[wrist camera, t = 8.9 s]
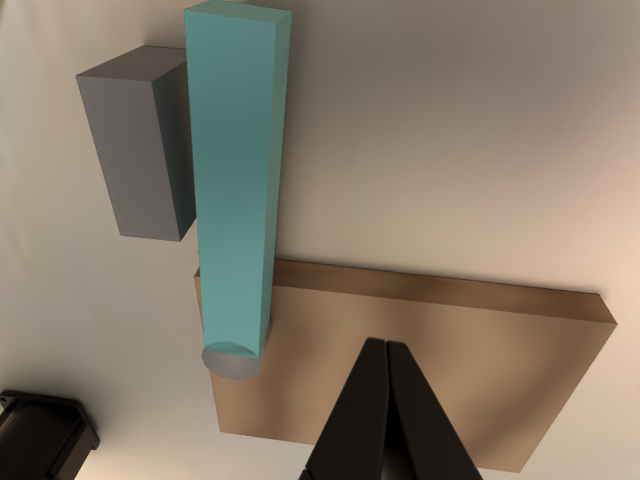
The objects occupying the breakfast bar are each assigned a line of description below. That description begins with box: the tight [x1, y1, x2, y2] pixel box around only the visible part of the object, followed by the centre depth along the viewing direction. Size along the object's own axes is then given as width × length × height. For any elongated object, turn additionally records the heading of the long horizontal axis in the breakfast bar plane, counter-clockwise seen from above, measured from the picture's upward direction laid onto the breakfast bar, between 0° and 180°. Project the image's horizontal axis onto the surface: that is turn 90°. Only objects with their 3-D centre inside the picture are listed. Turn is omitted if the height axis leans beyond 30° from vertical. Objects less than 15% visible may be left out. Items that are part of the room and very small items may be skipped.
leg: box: [184, 0, 292, 380], centre depth 17 cm, size 16×3×2 cm, turn 173°
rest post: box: [76, 46, 197, 242], centre depth 16 cm, size 2×6×4 cm, turn 177°
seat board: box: [194, 259, 618, 473], centre depth 25 cm, size 20×14×2 cm
